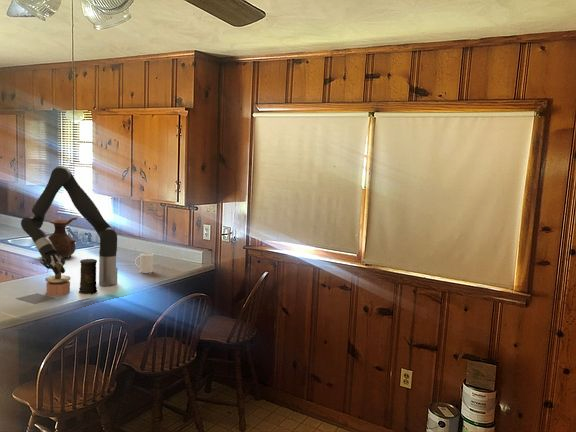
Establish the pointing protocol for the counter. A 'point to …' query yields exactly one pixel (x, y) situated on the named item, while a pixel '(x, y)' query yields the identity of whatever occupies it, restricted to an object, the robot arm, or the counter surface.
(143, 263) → the mug
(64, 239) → the brown vase
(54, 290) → the bowl
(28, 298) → the mat
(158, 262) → the counter surface
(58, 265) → the lid
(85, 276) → the container
